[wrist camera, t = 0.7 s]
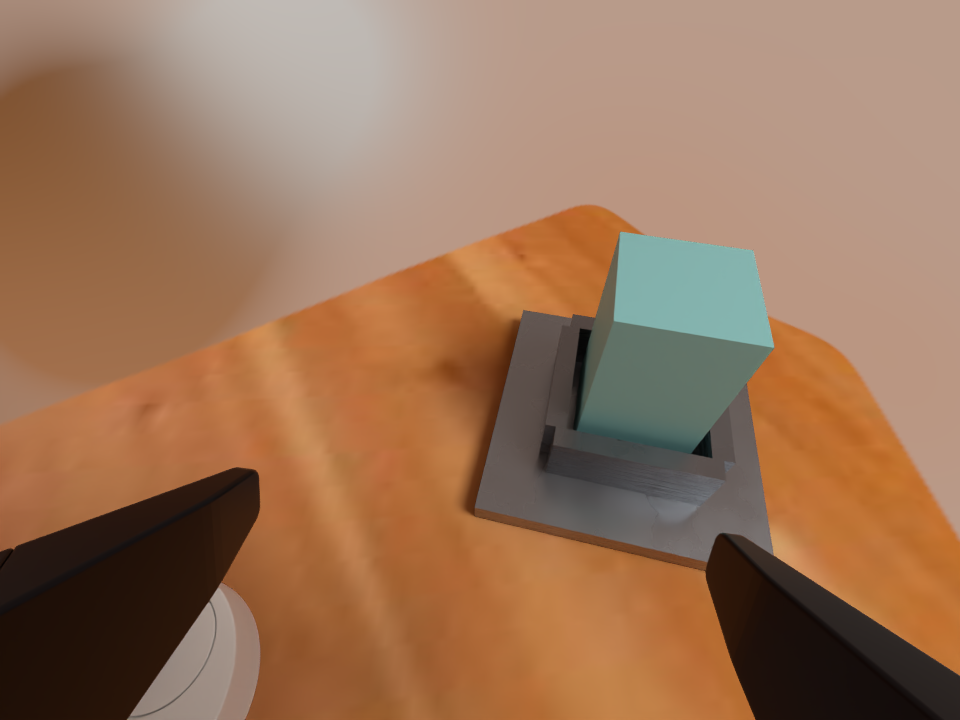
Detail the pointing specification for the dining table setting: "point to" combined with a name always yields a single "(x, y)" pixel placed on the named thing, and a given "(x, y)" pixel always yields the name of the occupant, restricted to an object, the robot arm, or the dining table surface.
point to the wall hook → (209, 667)
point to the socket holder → (612, 464)
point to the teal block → (671, 341)
